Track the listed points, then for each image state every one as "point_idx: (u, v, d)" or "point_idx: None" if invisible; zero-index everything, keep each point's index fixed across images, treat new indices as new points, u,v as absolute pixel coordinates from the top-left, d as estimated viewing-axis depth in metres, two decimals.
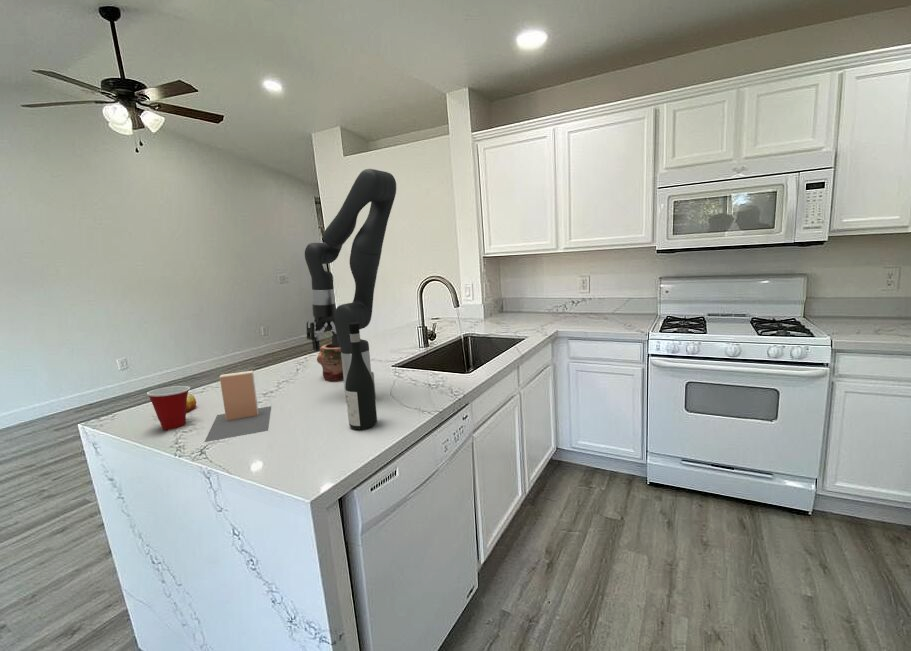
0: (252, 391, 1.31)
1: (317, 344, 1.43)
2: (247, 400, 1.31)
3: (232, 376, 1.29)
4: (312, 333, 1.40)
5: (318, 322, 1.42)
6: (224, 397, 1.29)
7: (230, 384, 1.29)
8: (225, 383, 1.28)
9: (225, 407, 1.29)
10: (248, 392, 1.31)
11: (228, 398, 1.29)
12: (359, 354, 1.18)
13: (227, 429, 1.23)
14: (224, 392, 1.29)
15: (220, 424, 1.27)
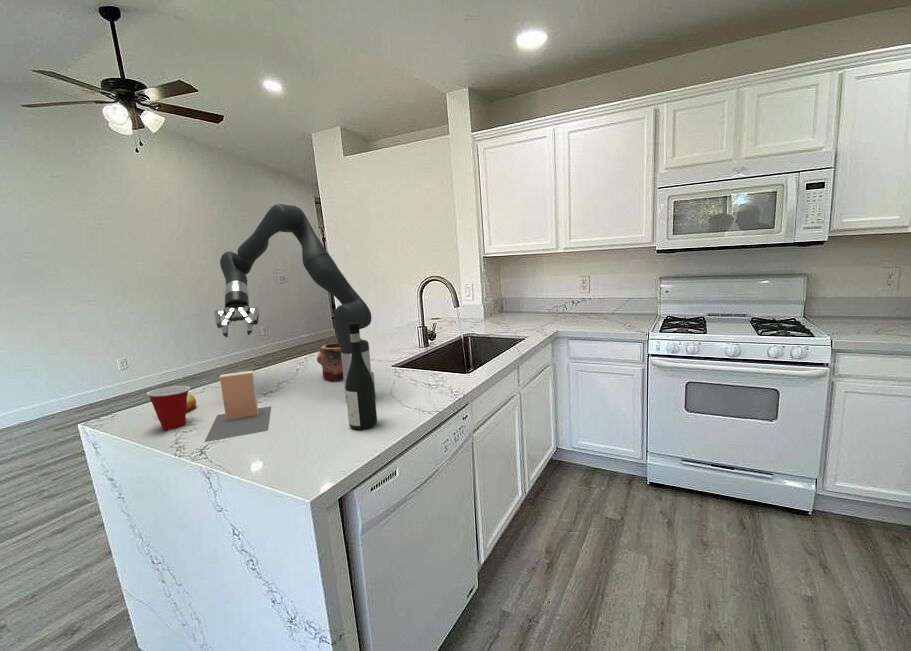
0: (252, 391, 1.31)
1: (224, 328, 1.41)
2: (247, 400, 1.31)
3: (232, 376, 1.29)
4: (216, 318, 1.43)
5: (224, 309, 1.45)
6: (224, 397, 1.29)
7: (230, 384, 1.29)
8: (225, 383, 1.28)
9: (225, 407, 1.29)
10: (248, 392, 1.31)
11: (228, 398, 1.29)
12: (359, 354, 1.18)
13: (227, 429, 1.23)
14: (224, 392, 1.29)
15: (220, 424, 1.27)
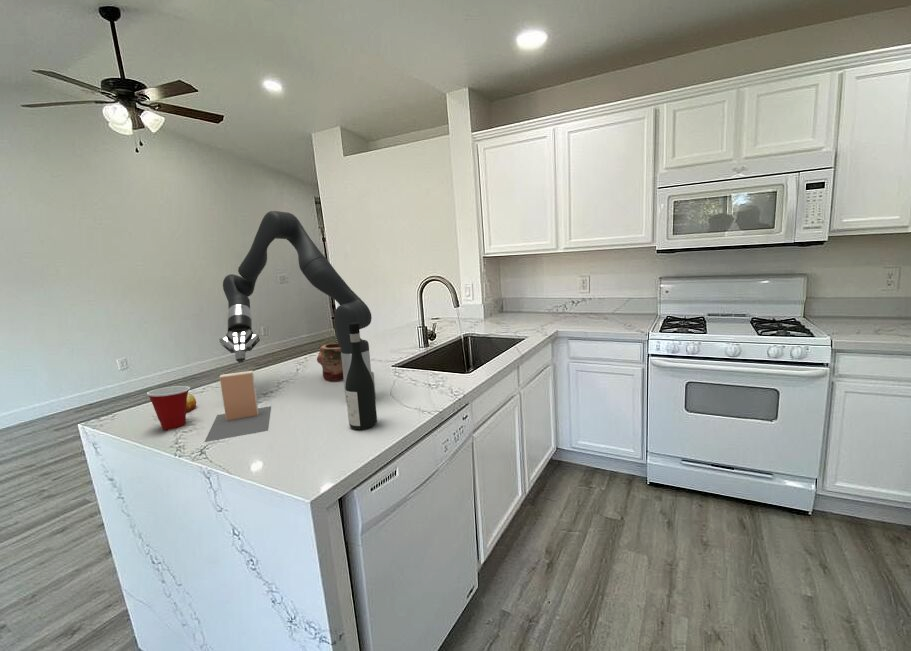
0: (252, 391, 1.31)
1: (237, 353, 1.42)
2: (247, 400, 1.31)
3: (232, 376, 1.29)
4: (226, 345, 1.42)
5: (227, 335, 1.45)
6: (224, 397, 1.29)
7: (230, 384, 1.29)
8: (225, 383, 1.28)
9: (225, 407, 1.29)
10: (248, 392, 1.31)
11: (228, 398, 1.29)
12: (359, 354, 1.18)
13: (227, 429, 1.23)
14: (224, 392, 1.29)
15: (220, 424, 1.27)
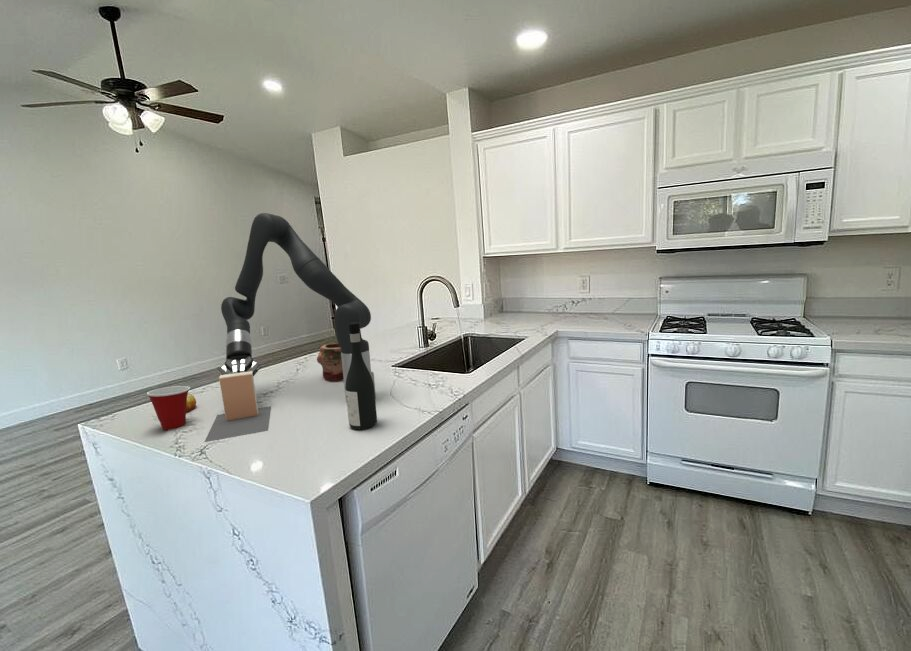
0: (252, 392, 1.31)
1: None
2: (246, 401, 1.31)
3: (232, 377, 1.28)
4: (225, 374, 1.34)
5: (225, 363, 1.36)
6: (224, 398, 1.28)
7: (230, 385, 1.28)
8: (224, 384, 1.27)
9: (225, 407, 1.29)
10: (248, 393, 1.30)
11: (228, 399, 1.29)
12: (359, 354, 1.18)
13: (227, 429, 1.23)
14: (224, 393, 1.28)
15: (220, 424, 1.27)
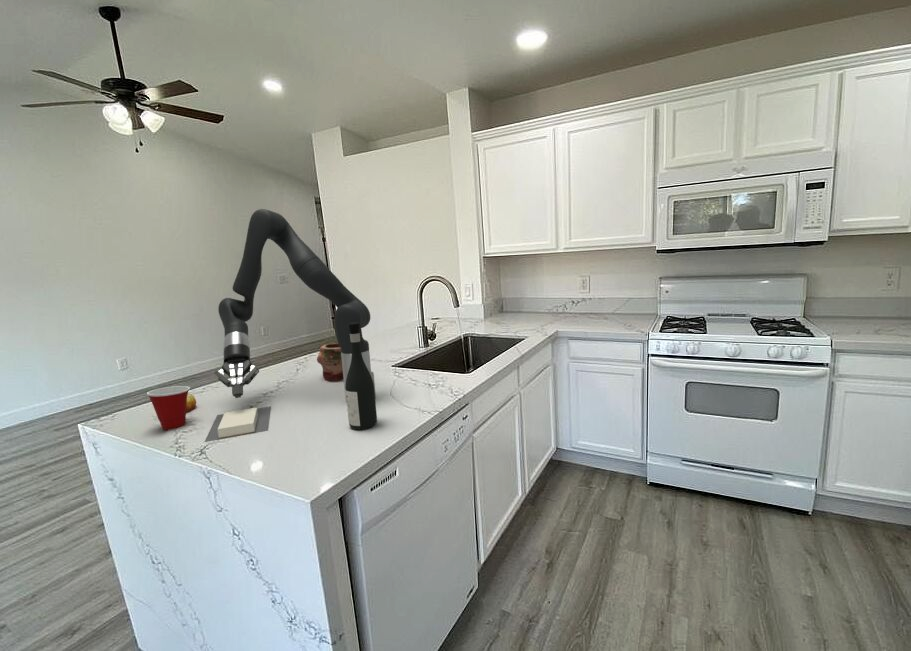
0: None
1: (234, 388, 1.28)
2: None
3: (233, 435, 1.18)
4: (222, 378, 1.29)
5: (223, 367, 1.31)
6: None
7: None
8: None
9: None
10: None
11: None
12: (359, 354, 1.18)
13: None
14: None
15: None
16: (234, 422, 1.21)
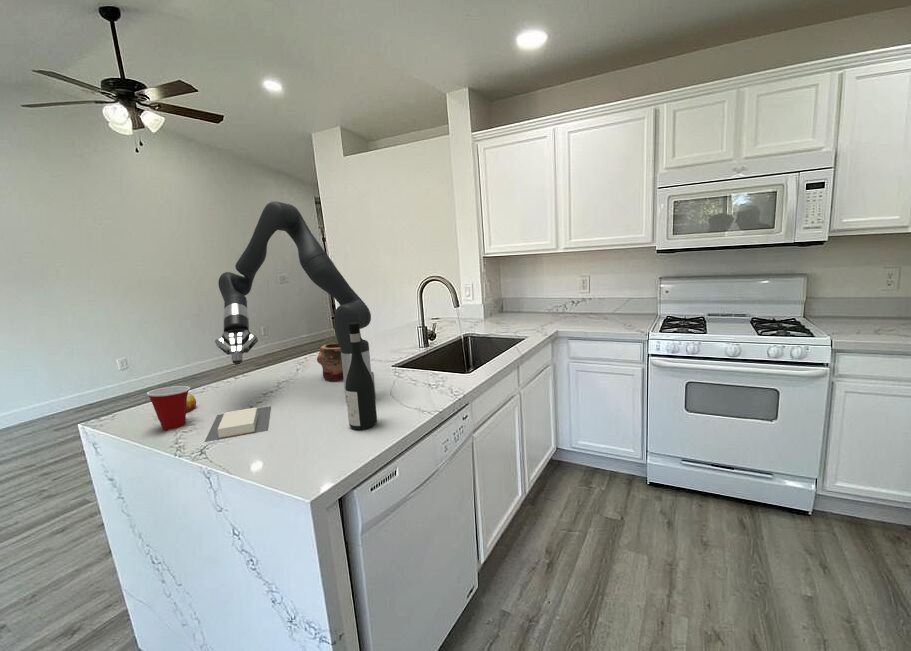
0: None
1: (234, 355, 1.35)
2: None
3: (233, 435, 1.18)
4: (222, 346, 1.35)
5: (223, 336, 1.38)
6: None
7: None
8: None
9: None
10: None
11: None
12: (359, 354, 1.18)
13: None
14: None
15: None
16: (234, 422, 1.21)
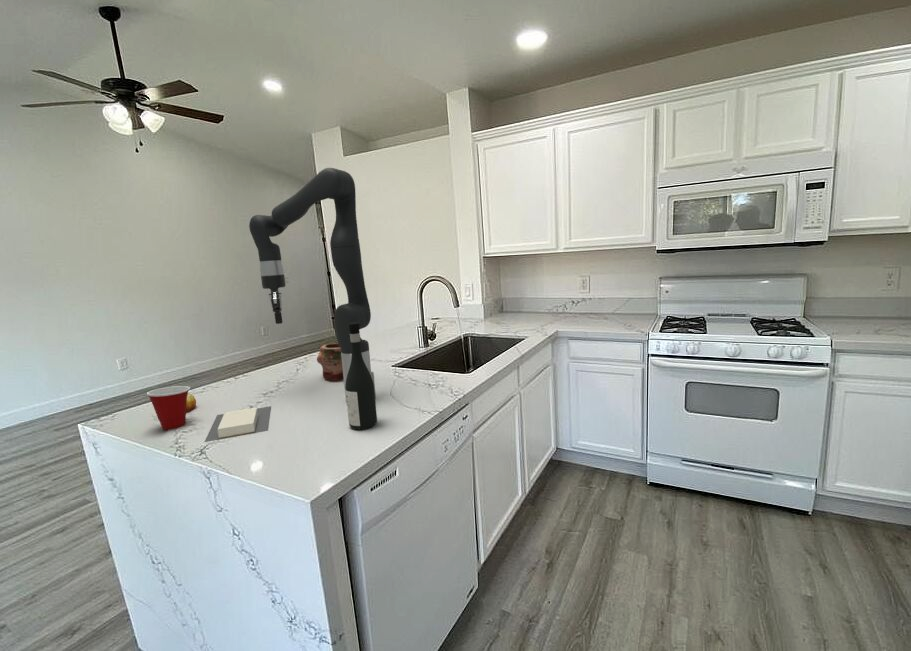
0: None
1: (280, 316, 1.49)
2: None
3: (233, 435, 1.18)
4: (279, 306, 1.46)
5: (277, 293, 1.45)
6: None
7: None
8: None
9: None
10: None
11: None
12: (359, 354, 1.18)
13: None
14: None
15: None
16: (234, 422, 1.21)
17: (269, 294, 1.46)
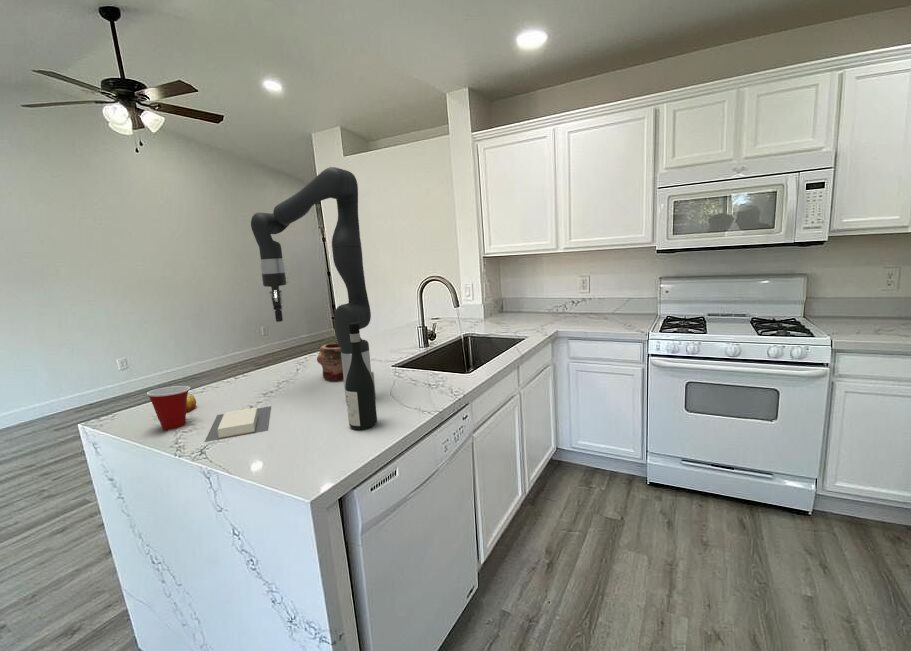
0: None
1: (281, 314, 1.49)
2: None
3: (233, 435, 1.18)
4: (280, 304, 1.46)
5: (278, 292, 1.45)
6: None
7: None
8: None
9: None
10: None
11: None
12: (359, 354, 1.18)
13: None
14: None
15: None
16: (234, 422, 1.21)
17: (270, 292, 1.46)
